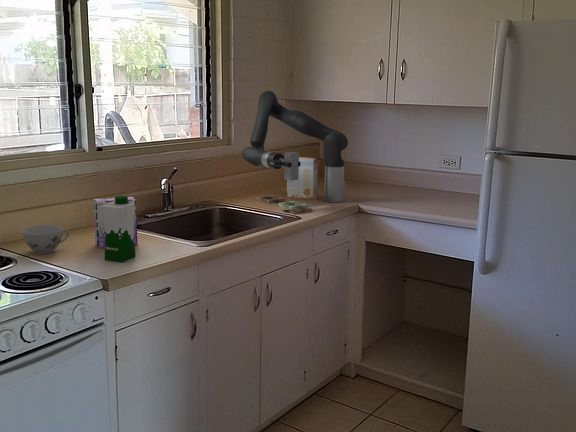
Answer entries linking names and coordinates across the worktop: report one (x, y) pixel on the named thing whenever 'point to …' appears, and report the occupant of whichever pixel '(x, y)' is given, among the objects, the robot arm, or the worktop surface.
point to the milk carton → (119, 229)
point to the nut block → (293, 171)
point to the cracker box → (304, 180)
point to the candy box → (100, 220)
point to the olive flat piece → (285, 204)
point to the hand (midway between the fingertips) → (295, 164)
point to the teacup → (44, 237)
